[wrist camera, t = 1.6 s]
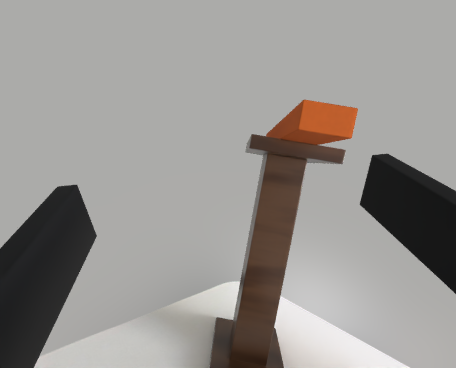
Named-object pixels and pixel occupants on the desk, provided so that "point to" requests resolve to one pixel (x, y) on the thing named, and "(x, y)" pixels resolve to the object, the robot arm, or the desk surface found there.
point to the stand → (267, 253)
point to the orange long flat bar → (316, 123)
